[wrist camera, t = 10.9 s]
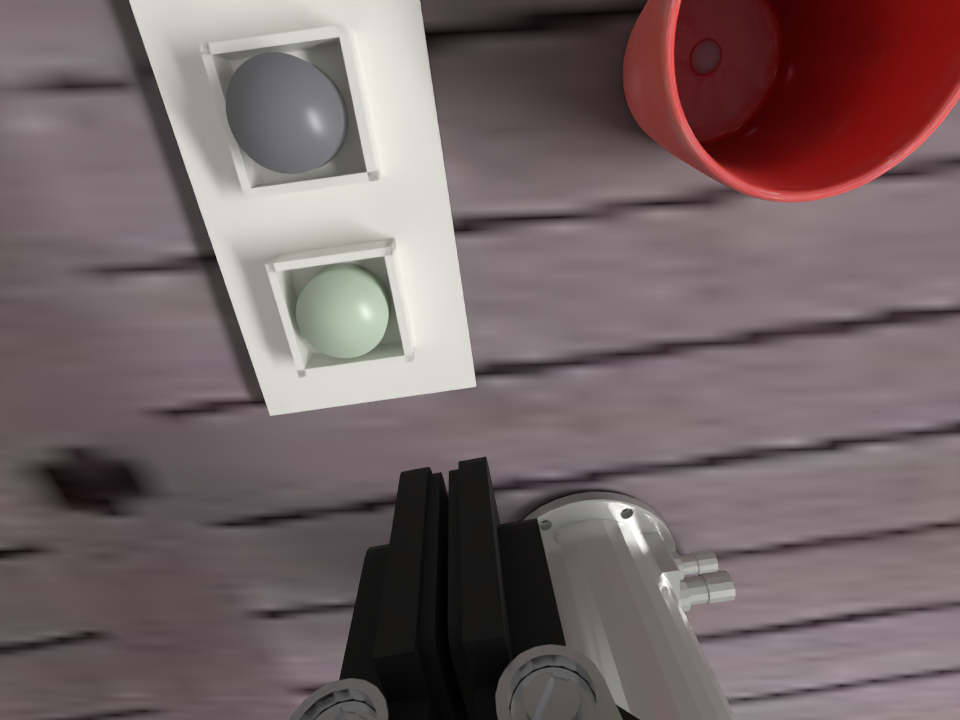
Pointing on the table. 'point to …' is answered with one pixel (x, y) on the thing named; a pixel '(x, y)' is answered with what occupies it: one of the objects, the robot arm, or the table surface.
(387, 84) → the button board
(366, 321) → the sage button
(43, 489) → the table surface
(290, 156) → the charcoal button
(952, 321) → the table surface
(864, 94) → the flower pot
